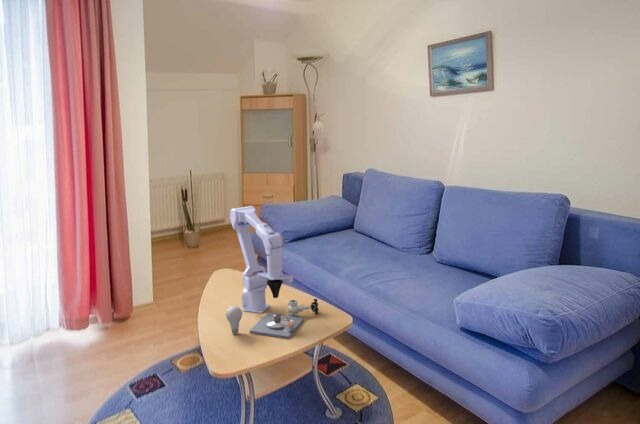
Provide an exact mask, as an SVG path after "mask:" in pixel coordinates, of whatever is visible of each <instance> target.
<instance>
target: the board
mask: <svg viewBox="0 0 640 424" xmlns="http://www.w3.org/2000/svg"><path fill="white" fill-rule="evenodd" d="M273 314H274V313H266V314H265V315H264V316H263V317H262V318H261V319H260V320H259V321H258V322H257V323H256V324H255V325H254V326H253V327H251V329H250V330H249V334H252V335H253V334H254V335H260V336H267V337H274V338H278V339H279V338H280V339H287V340H290V338H291V337H292V336H293V335H294V333H295V332H296V331H297V329H298V328H299V327H300V326H301V325H302V324H303V323H304V322H305V318H304V317H299V316H297V317H292V316H289V315H286V314H285V315H283V314H281V316H283V317H286V318H288V319H289V322H290V323H291V322H292V323H294V331H291V332H288V331H286V330H284V329H282V328H280V329H272V328H269V327H267V326H266V320H267V319H268V318H270V317H273Z"/></svg>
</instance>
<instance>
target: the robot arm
mask: <svg viewBox="0 0 640 424" xmlns="http://www.w3.org/2000/svg"><path fill="white" fill-rule="evenodd" d="M229 220H230V223H231V227H232V229H233V230H235V231H236V234H237V238H238V242H239V245H240V248H241V252H242V255H243V260H244V263H245V266H246V267H245V270H244V271H243V272H242V275H241V276H242V284H243V287H244V288H243V290H242V292H241V301H242V302H241V304H242V308H241V311H242V312H243V311H244V312H250V313H251V312H252V313H259V314H262V313H264V312H265V310H267V309H268V308H269V307H270V304H267V302H266V289H267V286H268V287H269V290H270V291H271V293H272V297H273V299H278V297H279V295H280V290H281V287H282V285H283V283H284V282H289V283H293V282H294V276H293V275H290V274H286V273H283V255H282V253H283V252H282V248H283V247H284V246H285V239H284V238H285V237H284V236H283V234H282V233H281V232H276V231H275V230H273V229H272V228H271V227H270V226H269V225H268V223H266V222H262V221H261V219H260V218H259V217H258V215H257V209H256V208H255V206H253V205H249V206H242V207H237V208H236V207H235V208H234V207H232V208H231V209H230V211H229ZM251 227H252V228H254V229H255V234H256V235H257V236H258V237H259V239H261V241H262V243H263V247H264V252H265V254H266V265H267V267H266V268H265V267H264V266H261V265H259V262H258V259H257V255H256V252H255V248H254V245H253V241H252V237H251V234H250V231H249V230H250V228H251ZM266 269H267V271H266Z"/></svg>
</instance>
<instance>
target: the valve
mask: <svg viewBox="0 0 640 424" xmlns="http://www.w3.org/2000/svg"><path fill="white" fill-rule="evenodd" d="M298 303H299V301H298V300H297V299H289V300H288V302H287V304H288V307H287V311H288V316H292V317H299V312H300V313H302V312H303V311H304V310H305V311H308V310H309V309H310V310H311V311H312V312H313V313H314V315H319V302H318V299H317V298H313V302H311V304H310V305H308V304H307V305H306V304H305V305H302V304H298Z"/></svg>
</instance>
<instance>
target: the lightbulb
mask: <svg viewBox="0 0 640 424" xmlns="http://www.w3.org/2000/svg"><path fill="white" fill-rule="evenodd" d="M242 317H243V311H242V308H240V307H239V306H236V305H231V306H230V307H228V308H227V309H226V312H225V318H226V321H228V323H229V326H230V328H231V329H230V330H231V333H232V334H233V335H237V334H238V333H239V328H240V321H241V319H242Z"/></svg>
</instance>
